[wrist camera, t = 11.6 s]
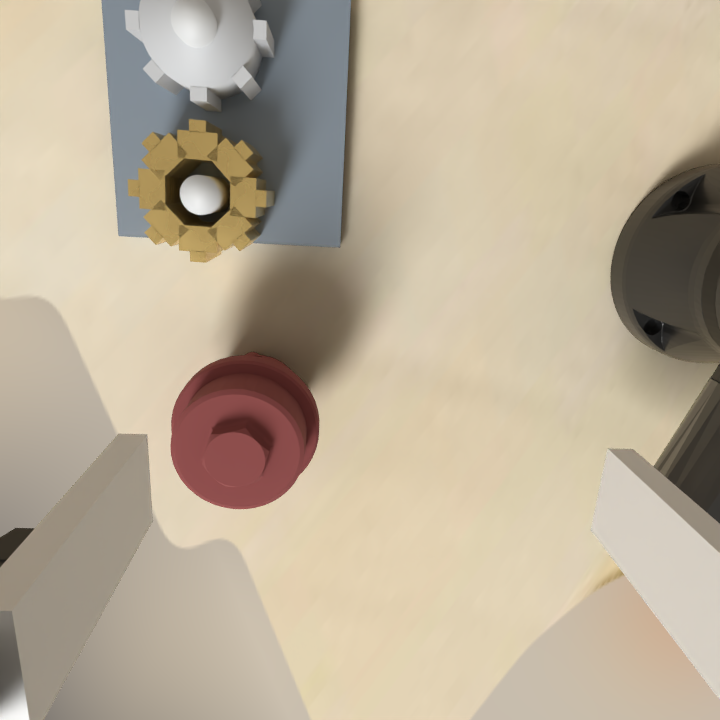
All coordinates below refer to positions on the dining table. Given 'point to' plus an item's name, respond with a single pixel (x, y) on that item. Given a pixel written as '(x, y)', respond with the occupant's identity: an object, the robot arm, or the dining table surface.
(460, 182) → the dining table surface
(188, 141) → the brass gear
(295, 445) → the mechanical component
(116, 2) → the gear board
